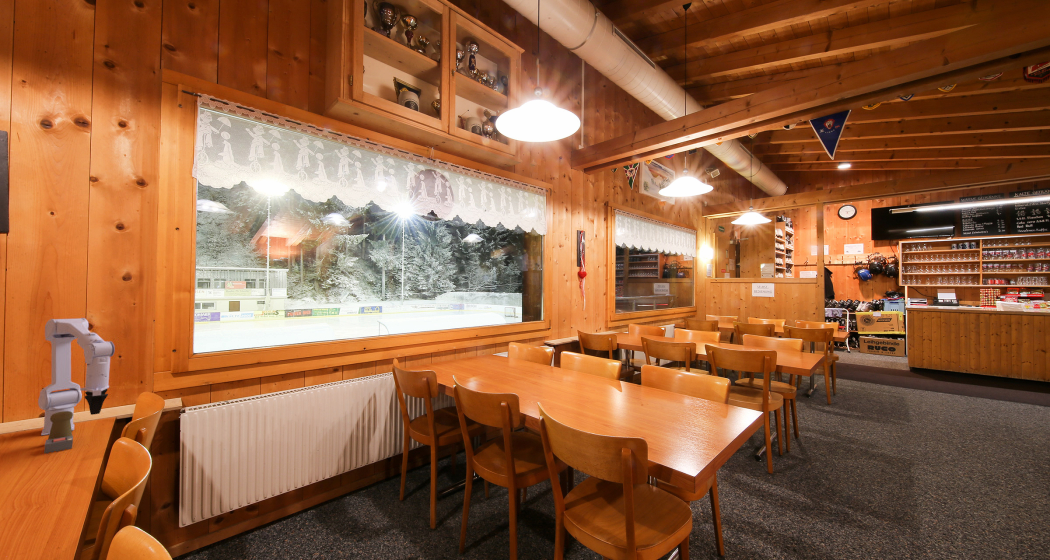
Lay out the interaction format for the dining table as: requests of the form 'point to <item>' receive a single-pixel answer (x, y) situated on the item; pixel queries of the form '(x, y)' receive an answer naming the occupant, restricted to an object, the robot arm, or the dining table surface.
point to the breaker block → (58, 444)
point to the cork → (60, 425)
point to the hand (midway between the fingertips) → (95, 411)
